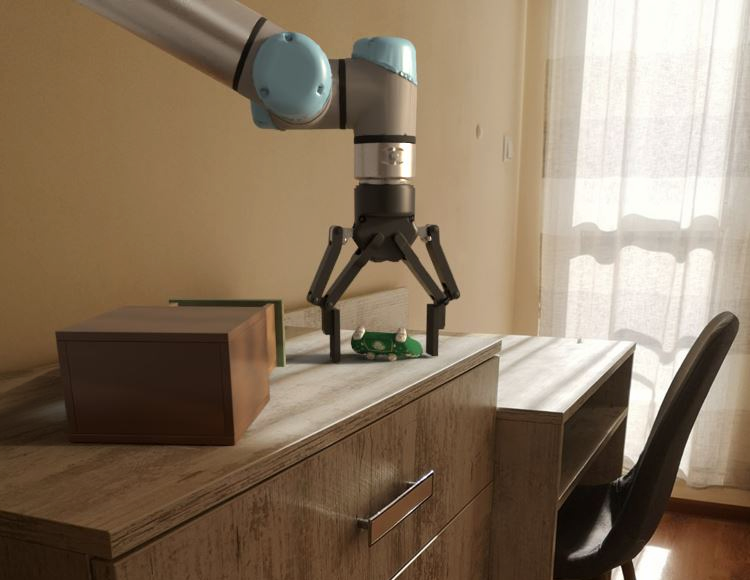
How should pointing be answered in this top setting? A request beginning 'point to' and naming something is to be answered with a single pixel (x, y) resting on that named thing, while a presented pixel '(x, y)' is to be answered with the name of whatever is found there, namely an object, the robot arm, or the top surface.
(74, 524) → the top surface
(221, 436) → the cabinet
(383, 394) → the top surface
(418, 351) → the green rounded piece
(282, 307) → the drawer
